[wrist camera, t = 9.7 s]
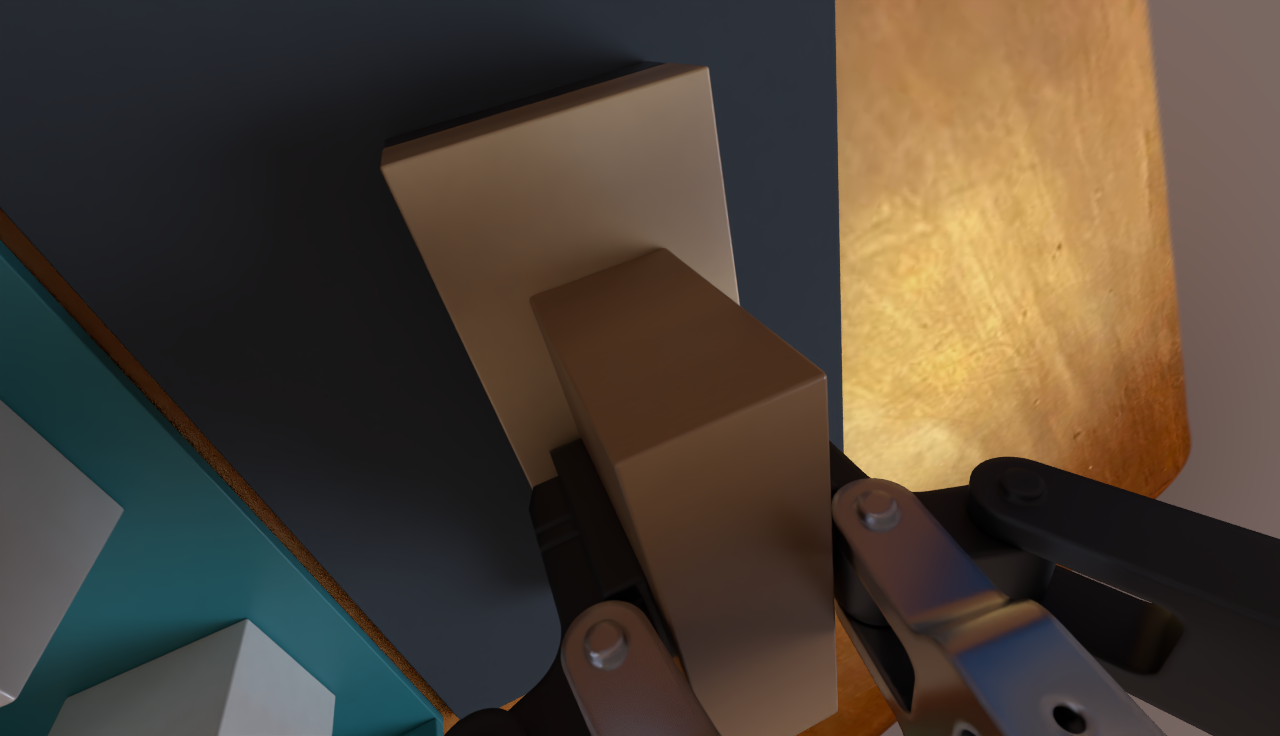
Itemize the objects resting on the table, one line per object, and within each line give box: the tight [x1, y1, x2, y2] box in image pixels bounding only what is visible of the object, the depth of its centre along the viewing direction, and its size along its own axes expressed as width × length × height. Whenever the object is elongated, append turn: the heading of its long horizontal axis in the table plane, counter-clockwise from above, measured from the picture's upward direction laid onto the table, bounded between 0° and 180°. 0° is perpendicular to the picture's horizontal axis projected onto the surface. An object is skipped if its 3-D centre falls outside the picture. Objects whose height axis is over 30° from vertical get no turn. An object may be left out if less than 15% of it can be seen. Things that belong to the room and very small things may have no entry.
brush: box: [380, 61, 838, 736], centre depth 11 cm, size 13×5×7 cm, turn 13°
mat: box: [0, 0, 844, 720], centre depth 14 cm, size 20×14×1 cm
